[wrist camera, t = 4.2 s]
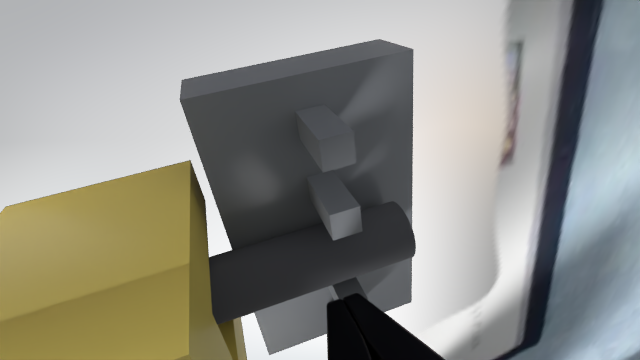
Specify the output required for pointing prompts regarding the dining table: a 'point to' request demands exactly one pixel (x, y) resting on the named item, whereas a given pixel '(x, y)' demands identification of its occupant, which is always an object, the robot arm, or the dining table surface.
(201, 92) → the grey pronged block
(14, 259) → the sleeve
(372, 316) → the robot arm
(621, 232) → the dining table surface
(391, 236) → the dark grey rod
